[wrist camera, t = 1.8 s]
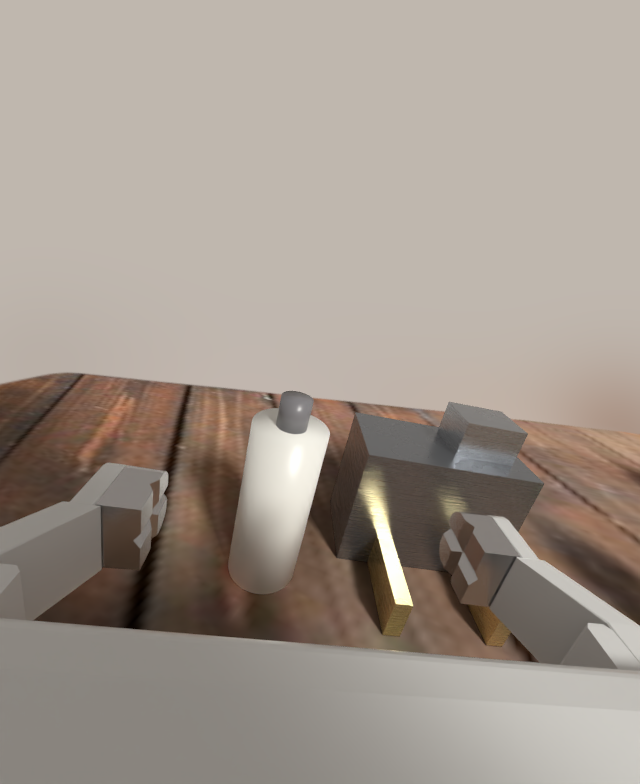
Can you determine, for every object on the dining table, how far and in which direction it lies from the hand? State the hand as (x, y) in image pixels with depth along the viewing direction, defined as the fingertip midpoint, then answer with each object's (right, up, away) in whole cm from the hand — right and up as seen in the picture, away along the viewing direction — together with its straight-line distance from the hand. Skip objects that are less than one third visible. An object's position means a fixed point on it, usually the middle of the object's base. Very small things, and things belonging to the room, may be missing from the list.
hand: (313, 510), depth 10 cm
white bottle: (-4, -10, +17) cm, 20 cm away
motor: (+9, -11, +21) cm, 25 cm away
